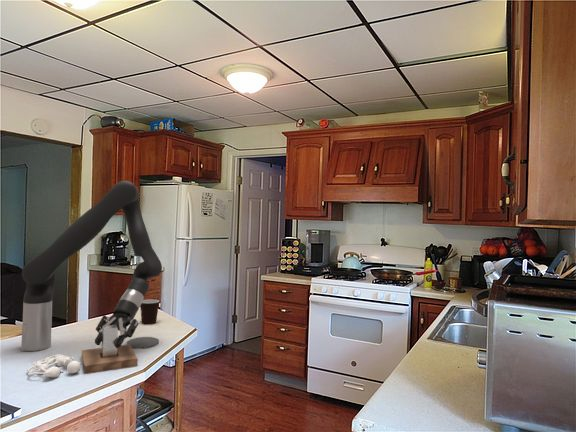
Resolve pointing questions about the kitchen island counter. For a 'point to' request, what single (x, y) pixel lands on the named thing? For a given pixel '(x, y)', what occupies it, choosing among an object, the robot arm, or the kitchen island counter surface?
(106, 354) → the steel peg
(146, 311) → the coffee mug
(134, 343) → the rubber pad
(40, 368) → the tangled rod sculpture
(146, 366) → the kitchen island counter surface
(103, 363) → the socket block
